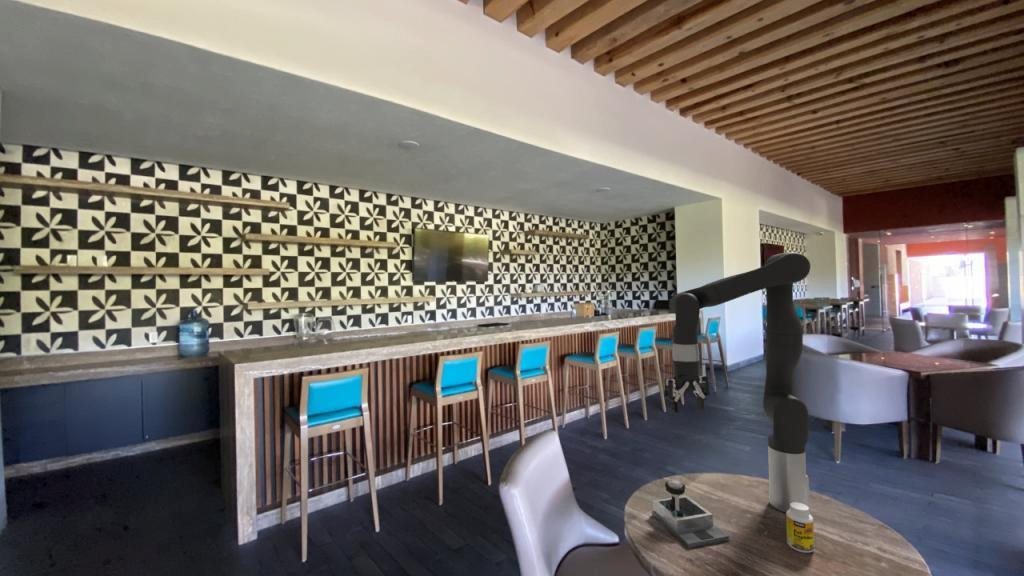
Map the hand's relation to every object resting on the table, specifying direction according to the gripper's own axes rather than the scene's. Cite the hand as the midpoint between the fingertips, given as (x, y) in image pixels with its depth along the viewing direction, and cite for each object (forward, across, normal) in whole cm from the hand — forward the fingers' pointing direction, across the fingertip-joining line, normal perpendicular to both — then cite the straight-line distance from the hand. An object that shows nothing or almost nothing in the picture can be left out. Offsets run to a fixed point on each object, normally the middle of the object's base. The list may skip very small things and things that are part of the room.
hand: (687, 411), depth 125 cm
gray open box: (+28, +9, +11) cm, 31 cm away
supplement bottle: (+28, -12, +26) cm, 40 cm away
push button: (+27, +11, +8) cm, 30 cm away
